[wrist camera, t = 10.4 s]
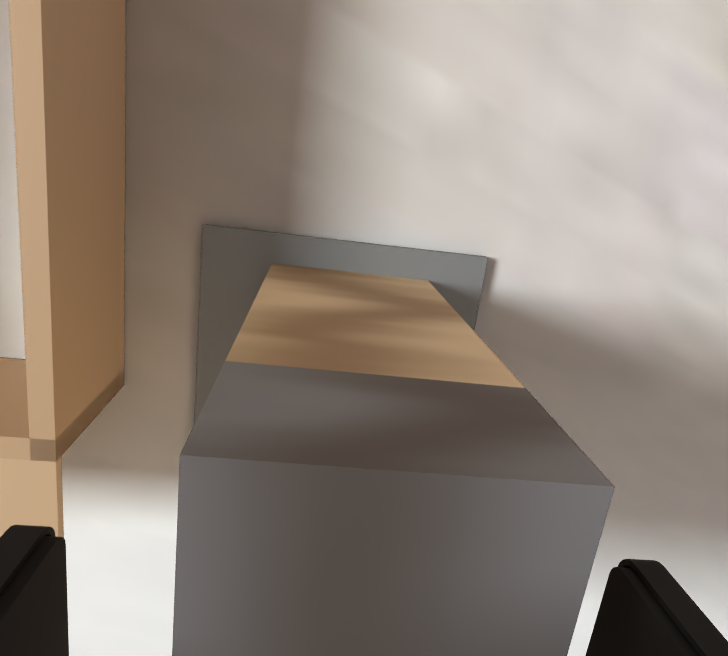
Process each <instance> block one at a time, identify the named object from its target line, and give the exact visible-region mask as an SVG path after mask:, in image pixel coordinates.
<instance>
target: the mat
mask: <svg viewBox="0 0 728 656" xmlns="http://www.w3.org/2000/svg"><path fill="white" fill-rule="evenodd" d="M487 259H488V258H487V257H485V256H477V255H468V254H459V253H450V252H442V251H433V250H424V249H415V248H406V247H398V246H389V245H380V244H371V243H363V242H354V241H345V240H336V239H327V238H319V237H310V236H301V235H292V234H283V233H275V232H266V231H257V230H248V229H239V228H231V227H222V226H213V225H203V232H202V255H201V279H200V302H199V326H198V349H197V373H196V396H195V419H194V425H195V423H196V421H197V419H198V416H199V414H200V412H201V410H202V408H203V406H204V404H205V402H206V400H207V398H208V396H209V394H210V392H211V389H212V387H213V385H214V383H215V381H216V379H217V377H218V375H219V373H220V371H221V369H222V367H223V364H224V362H225V360H226V358H227V356H228V354H229V352H230V350H231V348H232V346H233V344H234V342H235V340H236V337H237V335H238V333H239V331H240V329H241V327H242V325H243V323H244V321H245V319H246V317H247V315H248V312H249V310H250V308H251V306H252V304H253V302H254V300H255V298H256V296H257V294H258V292H259V290H260V288H261V285H262V283H263V281H264V279H265V277H266V275H267V273H268V271H269V269H270V267H271V265H272V263H275V264H284V265H293V266H302V267H312V268H321V269H330V270H339V271H348V272H357V273H366V274H375V275H384V276H393V277H402V278H411V279H420V280H428V281H429V282H430V283H431V284H432V285H433V287H434V288H435V289H436V290H437V291H438V292H439V293H440V294H441V295H442V297H443V298H444V299H445V300H446V301H447V302H448V303H449V304H450V305H451V306H452V308H453V309H454V310H455V311H456V312H457V313H458V314H459V315H460V316H461V318H462V319H463V320H464V321H465V322H466V323H467V324H468V325H469V326H470V327H471V329H472V330H473V331H474V329H475V323H476V318H477V313H478V307H479V302H480V296H481V291H482V286H483V280H484V275H485V269H486V264H487Z"/></svg>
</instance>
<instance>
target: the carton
mask: <svg viewBox="0 0 728 656" xmlns="http://www.w3.org/2000/svg"><path fill="white" fill-rule="evenodd" d="M9 17H10V38H11V59H12V81H13V102H14V123H15V144H16V165H17V187H18V208H19V229H20V250H21V271H22V293H23V314H24V335H25V356H26V360H24V359H12V358H1V357H0V537H1V536H2V535H3V534H4V532H5V531H6V530H7V529H8V528H9V527H11V526H13V525H31V526H49V527H52V528H53V529H54V531H55V536H56V537H63V538H64V530H63V496H62V463H61V456H62V454H63V453H64V452H65V451H66V450H67V449H68V448H69V447H70V445H71V444H72V443H73V442H74V441H75V440H76V439H77V438H78V436H79V435H80V434H81V433H82V432H83V431H84V430H85V428H86V427H87V426H88V425H89V424H90V423H91V422H92V421H93V419H94V418H95V417H96V416H97V415H98V414H99V413H100V411H101V410H102V409H103V408H104V407H105V406H106V405H107V404H108V402H109V401H110V400H111V399H112V398H113V397H114V396H115V395H116V393H117V392H118V391H119V390H120V389H121V388H122V387H123V385H124V267H125V42H126V0H9Z"/></svg>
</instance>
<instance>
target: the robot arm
mask: <svg viewBox="0 0 728 656" xmlns="http://www.w3.org/2000/svg"><path fill="white" fill-rule="evenodd" d="M0 656H69V646H68V611H67V577H66V545H65V540H64V538H63V537H56V536H55V531H54V529H53V528H52V527H49V526H31V525H13V526H11V527H9V528H8V529H7V530H6V531H5V532H4V534H3V535H2V536H1V537H0ZM586 656H728V641H727V640H726V639H725V638H724V637H723V636H722V634H721V633H720V632H719V631H718V630H717V628H716V627H715V626H714V625H713V624H712V623H711V621H710V620H709V619H708V618H707V617H706V615H705V614H704V613H703V612H702V611H701V610H700V608H699V607H698V606H697V605H696V604H695V603H694V601H693V600H692V599H691V598H690V597H689V595H688V594H687V593H686V592H685V591H684V590H683V588H682V587H681V586H680V585H679V584H678V582H677V581H676V580H675V579H674V578H673V577H672V575H671V574H670V573H669V572H668V571H667V570H666V568H665V567H664V566H663V565H662V564H661V563H659V562H657V561H654V560H636V559H624V560H622V561H621V562H620V563H619V565H618V567H614V568H613V569H612V570H611V572H610V574H609V577H608V581H607V584H606V588H605V591H604V594H603V598H602V601H601V605H600V608H599V612H598V615H597V618H596V622H595V625H594V629H593V632H592V636H591V639H590V642H589V646H588V649H587V653H586Z"/></svg>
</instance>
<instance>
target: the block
mask: <svg viewBox="0 0 728 656" xmlns="http://www.w3.org/2000/svg"><path fill="white" fill-rule="evenodd" d="M613 491H614V485H613V484H612V483H611V482H610V481H609V480H608V479H607V478H606V477H605V476H604V474H603V473H602V472H601V471H600V470H599V469H598V468H597V467H596V466H595V464H594V463H593V462H592V461H591V460H590V459H589V458H588V457H587V456H586V455H585V453H584V452H583V451H582V450H581V449H580V448H579V447H578V446H577V445H576V443H575V442H574V441H573V440H572V439H571V438H570V437H569V436H568V435H567V434H566V432H565V431H564V430H563V429H562V428H561V427H560V426H559V425H558V424H557V422H556V421H555V420H554V419H553V418H552V417H551V416H550V415H549V414H548V413H547V411H546V410H545V409H544V408H543V407H542V406H541V405H540V404H539V403H538V402H537V400H536V399H535V398H534V397H533V396H532V395H531V394H530V393H529V392H528V390H527V389H526V388H525V387H524V386H523V385H522V384H521V383H520V382H519V381H518V379H517V378H516V377H515V376H514V375H513V374H512V373H511V372H510V371H509V369H508V368H507V367H506V366H505V365H504V364H503V363H502V362H501V361H500V360H499V358H498V357H497V356H496V355H495V354H494V353H493V352H492V351H491V350H490V348H489V347H488V346H487V345H486V344H485V343H484V342H483V341H482V340H481V339H480V337H479V336H478V335H477V334H476V333H475V332H474V331H473V330H472V329H471V327H470V326H469V325H468V324H467V323H466V322H465V321H464V320H463V319H462V318H461V316H460V315H459V314H458V313H457V312H456V311H455V310H454V309H453V308H452V306H451V305H450V304H449V303H448V302H447V301H446V300H445V299H444V298H443V297H442V295H441V294H440V293H439V292H438V291H437V290H436V289H435V288H434V287H433V285H432V284H431V283H430V282H429V281H428V280H420V279H411V278H402V277H393V276H384V275H375V274H366V273H357V272H348V271H339V270H330V269H321V268H312V267H302V266H293V265H284V264H275V263H272V265H271V267H270V269H269V271H268V273H267V275H266V277H265V279H264V281H263V283H262V285H261V288H260V290H259V292H258V294H257V296H256V298H255V300H254V302H253V304H252V306H251V308H250V310H249V312H248V315H247V317H246V319H245V321H244V323H243V325H242V327H241V329H240V331H239V333H238V335H237V337H236V340H235V342H234V344H233V346H232V348H231V350H230V352H229V354H228V356H227V358H226V360H225V362H224V364H223V367H222V369H221V371H220V373H219V375H218V377H217V379H216V381H215V383H214V385H213V387H212V389H211V392H210V394H209V396H208V398H207V400H206V402H205V404H204V406H203V408H202V410H201V412H200V414H199V416H198V419H197V421H196V423H195V425H194V427H193V429H192V431H191V433H190V435H189V437H188V439H187V441H186V444H185V446H184V448H183V450H182V452H181V454H180V466H179V493H178V519H177V545H176V571H175V597H174V623H173V649H172V656H567V653H568V650H569V646H570V643H571V639H572V636H573V632H574V629H575V625H576V622H577V618H578V615H579V611H580V608H581V604H582V600H583V597H584V593H585V590H586V586H587V583H588V579H589V576H590V572H591V569H592V565H593V562H594V558H595V555H596V551H597V548H598V544H599V540H600V537H601V533H602V530H603V526H604V523H605V519H606V516H607V512H608V509H609V505H610V502H611V498H612V495H613Z"/></svg>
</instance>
